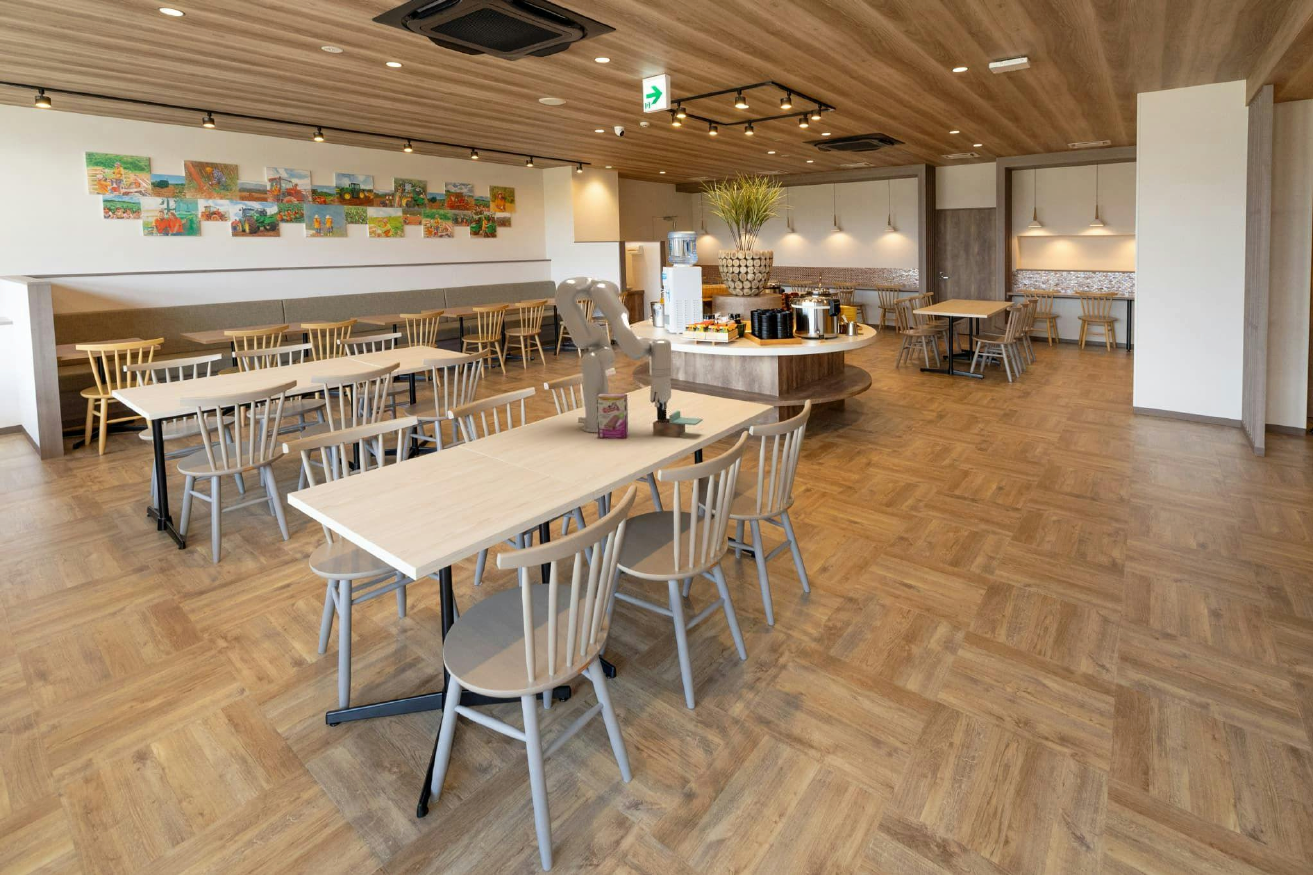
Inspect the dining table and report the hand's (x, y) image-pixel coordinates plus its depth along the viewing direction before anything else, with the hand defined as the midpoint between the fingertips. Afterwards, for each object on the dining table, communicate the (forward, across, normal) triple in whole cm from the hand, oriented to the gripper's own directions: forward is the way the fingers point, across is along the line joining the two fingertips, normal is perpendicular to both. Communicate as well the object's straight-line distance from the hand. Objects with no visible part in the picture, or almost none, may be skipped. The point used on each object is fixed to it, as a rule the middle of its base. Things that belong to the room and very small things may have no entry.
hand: (661, 419), depth 282 cm
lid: (0, 0, +10) cm, 10 cm away
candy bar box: (+6, +11, -15) cm, 20 cm away
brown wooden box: (+6, 0, +3) cm, 6 cm away
